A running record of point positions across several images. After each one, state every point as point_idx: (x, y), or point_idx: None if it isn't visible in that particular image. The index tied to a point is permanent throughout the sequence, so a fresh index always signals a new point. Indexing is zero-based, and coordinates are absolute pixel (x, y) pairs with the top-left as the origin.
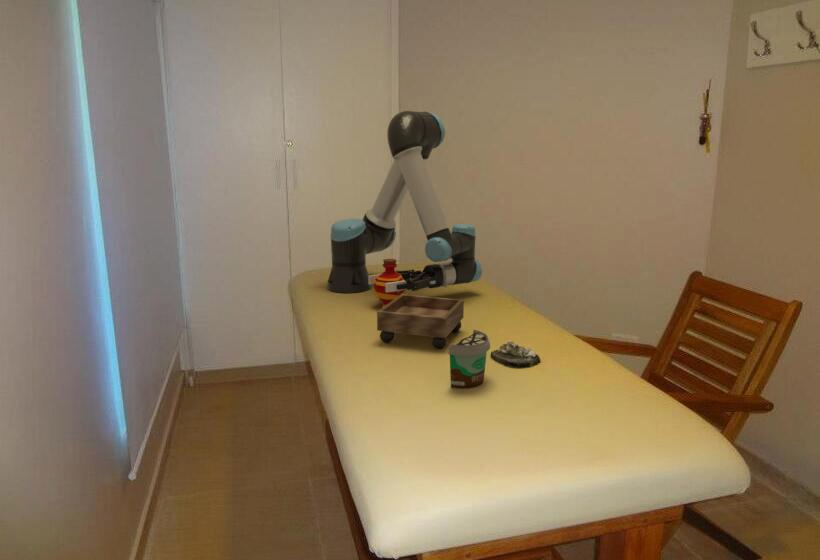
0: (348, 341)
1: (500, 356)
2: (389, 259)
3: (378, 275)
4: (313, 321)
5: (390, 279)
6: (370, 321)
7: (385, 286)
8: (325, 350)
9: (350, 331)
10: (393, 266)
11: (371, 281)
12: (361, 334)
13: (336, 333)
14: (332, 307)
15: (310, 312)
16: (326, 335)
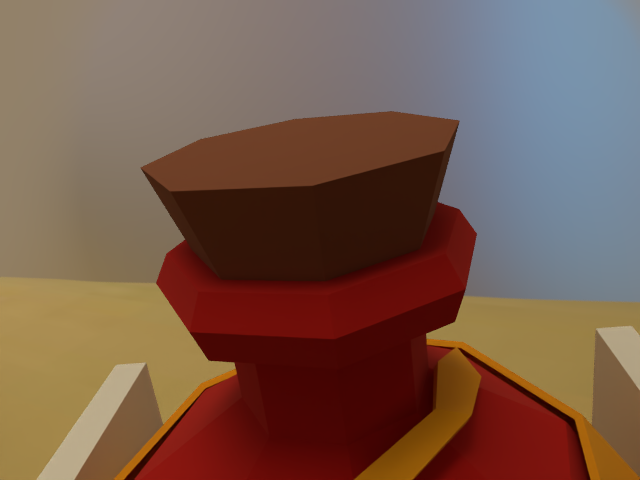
0: (35, 332)
1: None
2: (360, 142)
3: (484, 356)
4: None
5: (178, 413)
6: None
7: (155, 398)
8: (49, 284)
9: (117, 357)
10: (165, 274)
11: (605, 413)
12: (41, 377)
13: (147, 322)
14: (589, 382)
15: (512, 302)
16: (160, 301)
